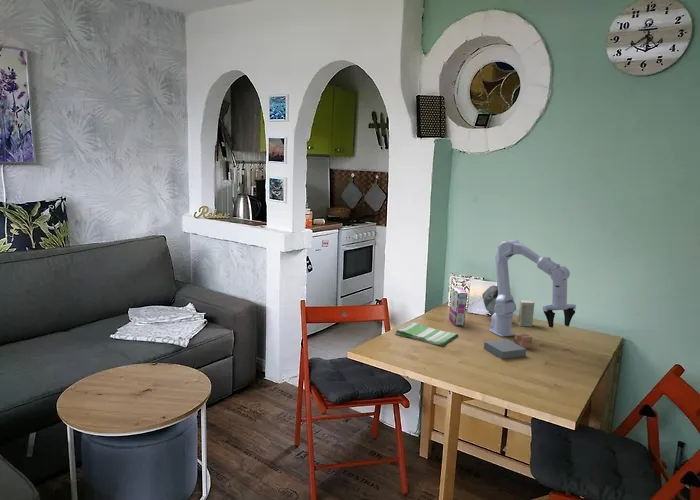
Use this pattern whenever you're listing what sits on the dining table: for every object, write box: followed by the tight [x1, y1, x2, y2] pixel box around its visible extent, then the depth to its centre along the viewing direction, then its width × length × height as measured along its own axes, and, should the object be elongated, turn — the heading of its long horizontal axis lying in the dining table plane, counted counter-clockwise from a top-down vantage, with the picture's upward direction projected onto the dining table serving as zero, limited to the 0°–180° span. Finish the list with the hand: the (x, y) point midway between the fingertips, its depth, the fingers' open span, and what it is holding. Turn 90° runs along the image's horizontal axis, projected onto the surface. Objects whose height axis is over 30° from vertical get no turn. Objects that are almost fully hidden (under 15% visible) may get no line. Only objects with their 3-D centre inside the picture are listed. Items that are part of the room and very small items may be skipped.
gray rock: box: [481, 284, 498, 321], centre depth 258 cm, size 14×15×18 cm
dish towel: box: [395, 321, 459, 347], centre depth 229 cm, size 18×23×3 cm
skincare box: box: [517, 299, 535, 327], centre depth 251 cm, size 6×4×12 cm
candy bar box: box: [448, 287, 468, 327], centre depth 249 cm, size 11×5×16 cm, turn 5°
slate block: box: [483, 338, 527, 360], centre depth 213 cm, size 12×12×3 cm
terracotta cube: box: [513, 332, 533, 349], centre depth 221 cm, size 5×5×5 cm
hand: (558, 326), depth 217 cm, fingers open, 7 cm apart
